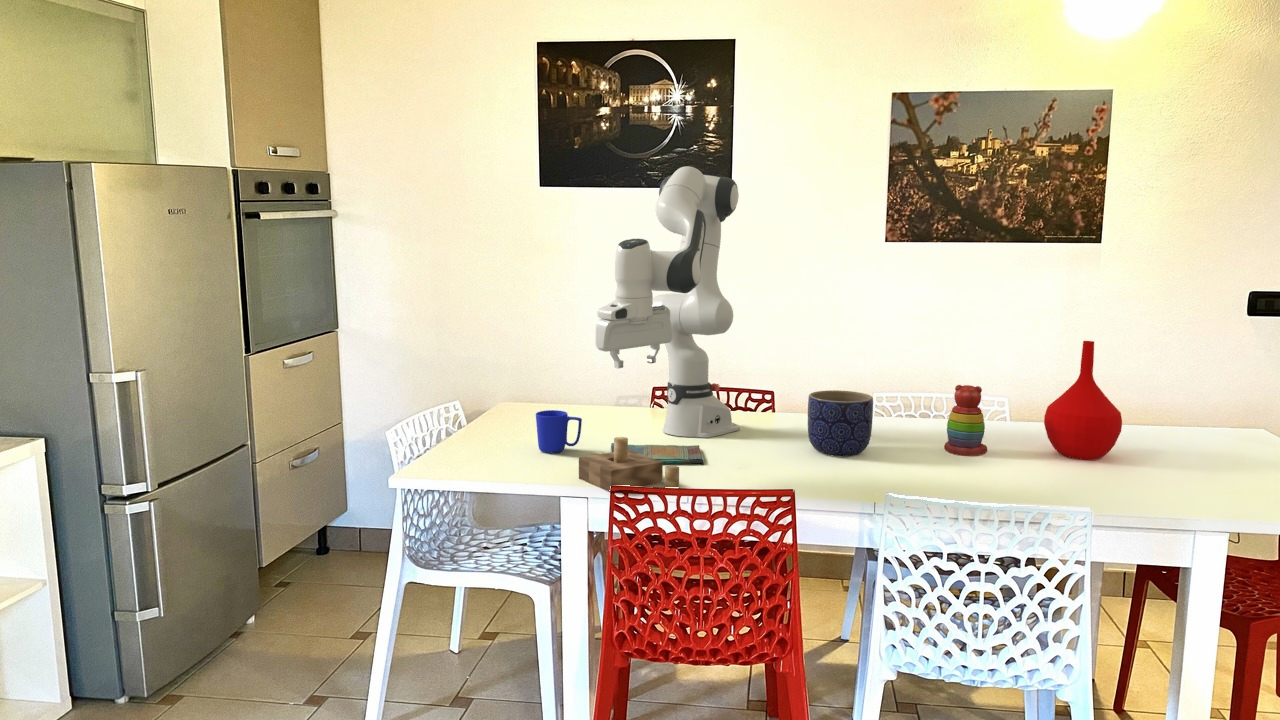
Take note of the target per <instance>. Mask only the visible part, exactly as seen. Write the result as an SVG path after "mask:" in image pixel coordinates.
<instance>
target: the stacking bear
mask: <svg viewBox="0 0 1280 720" xmlns="http://www.w3.org/2000/svg"><path fill="white" fill-rule="evenodd" d="M954 389H955V392H954V402H955V404H956V405H955V406H953V407H952V408H951V410H950V413H949V417H948V419H947V423H946V434H947V440H948V441H946V442H945V443H944V444H943V449H944V450H945V452H948V453H949V454H951V455H956V456H964V457H974V456H975V457H976V456H981V455H985V454H986V453H987V452H988V446H987V445H986V444H984V443H982V441H983V438H984V437H985V430H986V429H985V427H986V426H985V418H984V414H983V412H982V411H983V410H981V408H980V407H979V406H980V404H981V401H982V391H983V389H982V387H981V386H979V385H977V386H974V385H969V384H966V385H965V384H964V385H962V384H957V385H956V386H955V387H954Z"/></svg>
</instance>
